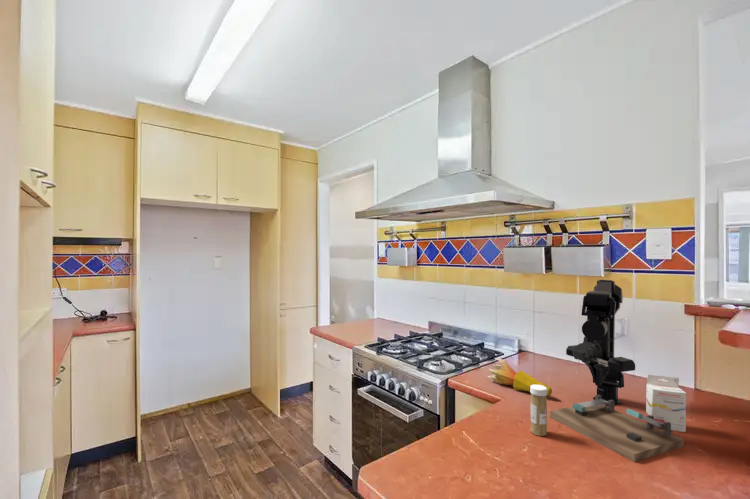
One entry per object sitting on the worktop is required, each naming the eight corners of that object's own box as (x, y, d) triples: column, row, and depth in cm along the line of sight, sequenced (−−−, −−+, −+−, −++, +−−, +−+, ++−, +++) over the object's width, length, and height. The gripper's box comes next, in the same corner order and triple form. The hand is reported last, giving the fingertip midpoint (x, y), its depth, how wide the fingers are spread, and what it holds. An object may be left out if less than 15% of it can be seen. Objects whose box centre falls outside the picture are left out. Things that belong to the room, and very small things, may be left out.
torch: (547, 410, 128) (487, 381, 148) (558, 395, 132) (498, 369, 152) (544, 394, 125) (483, 366, 144) (555, 379, 129) (494, 354, 148)
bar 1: (601, 402, 118) (601, 398, 118) (610, 406, 115) (610, 402, 115) (572, 408, 114) (572, 403, 114) (581, 412, 111) (582, 407, 111)
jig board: (594, 407, 122) (594, 391, 122) (683, 446, 98) (683, 426, 98) (550, 417, 115) (550, 400, 115) (634, 462, 91) (634, 440, 91)
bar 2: (653, 425, 103) (654, 420, 104) (665, 430, 100) (667, 425, 101) (625, 413, 99) (627, 408, 99) (638, 418, 96) (639, 412, 96)
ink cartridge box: (651, 428, 108) (651, 379, 108) (645, 420, 113) (645, 373, 113) (686, 432, 105) (686, 382, 105) (678, 425, 110) (678, 376, 110)
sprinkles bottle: (548, 437, 102) (548, 390, 102) (531, 435, 104) (531, 388, 104) (545, 430, 107) (546, 384, 107) (529, 427, 108) (529, 383, 108)
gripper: (553, 329, 115) (552, 378, 115) (608, 343, 98) (608, 401, 98) (579, 327, 119) (579, 374, 119) (636, 340, 102) (636, 396, 101)
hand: (598, 385), depth 109 cm, fingers closed
